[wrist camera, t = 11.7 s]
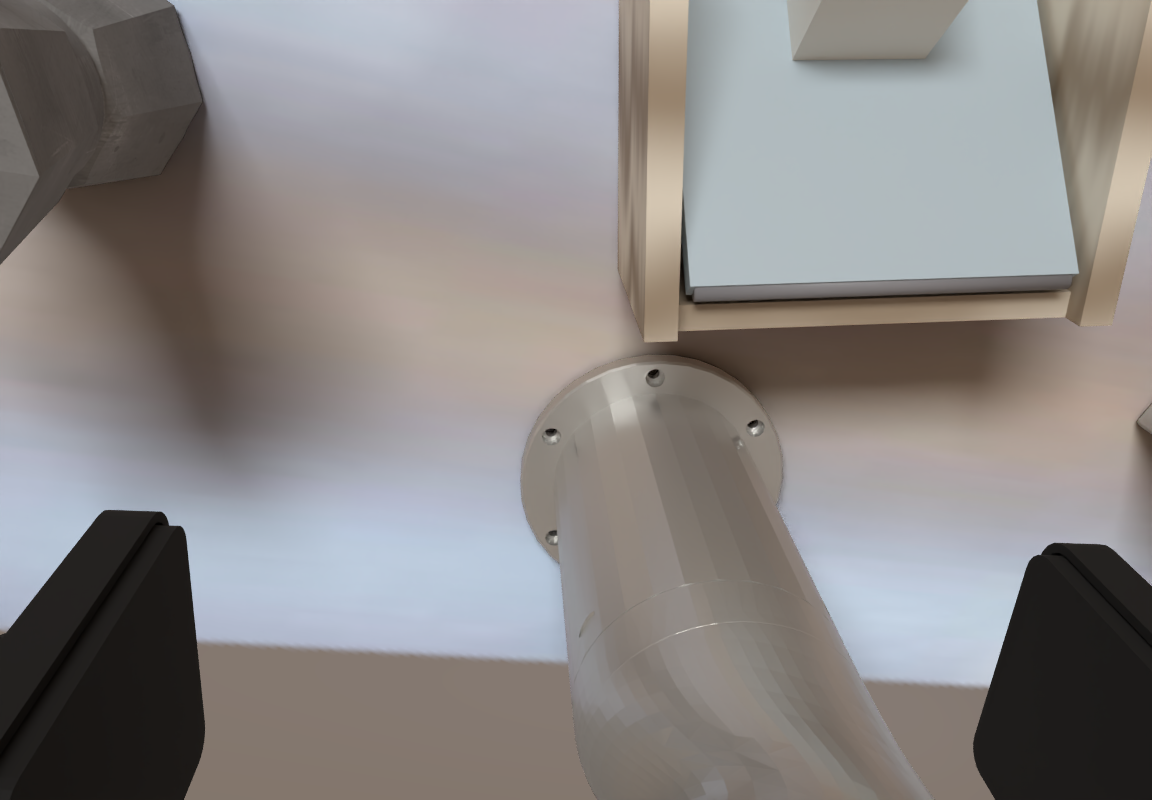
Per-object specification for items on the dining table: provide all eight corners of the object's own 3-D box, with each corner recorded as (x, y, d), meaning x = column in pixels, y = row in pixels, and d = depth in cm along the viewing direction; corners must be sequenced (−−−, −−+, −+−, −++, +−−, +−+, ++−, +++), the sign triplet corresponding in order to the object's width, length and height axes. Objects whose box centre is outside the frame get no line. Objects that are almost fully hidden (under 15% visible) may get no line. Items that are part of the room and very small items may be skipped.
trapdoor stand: (997, 256, 43) (1111, 325, 35) (617, 269, 42) (643, 342, 34) (1067, -142, 36) (1228, -173, 28) (619, -138, 36) (652, -168, 27)
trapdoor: (1065, 292, 35) (1080, 284, 34) (686, 305, 34) (691, 297, 33) (1012, -58, 38) (1025, -75, 37) (660, -53, 37) (663, -70, 36)
